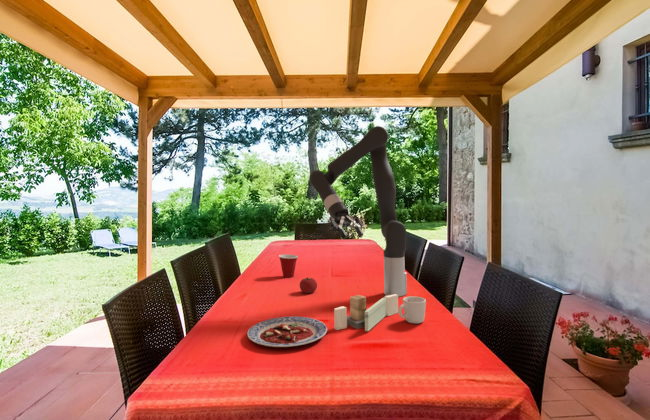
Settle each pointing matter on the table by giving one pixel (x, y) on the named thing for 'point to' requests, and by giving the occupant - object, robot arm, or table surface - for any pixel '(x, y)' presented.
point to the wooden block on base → (357, 312)
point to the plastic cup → (288, 264)
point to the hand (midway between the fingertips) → (353, 236)
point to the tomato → (308, 285)
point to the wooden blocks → (341, 312)
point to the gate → (375, 314)
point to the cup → (413, 309)
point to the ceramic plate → (287, 331)
